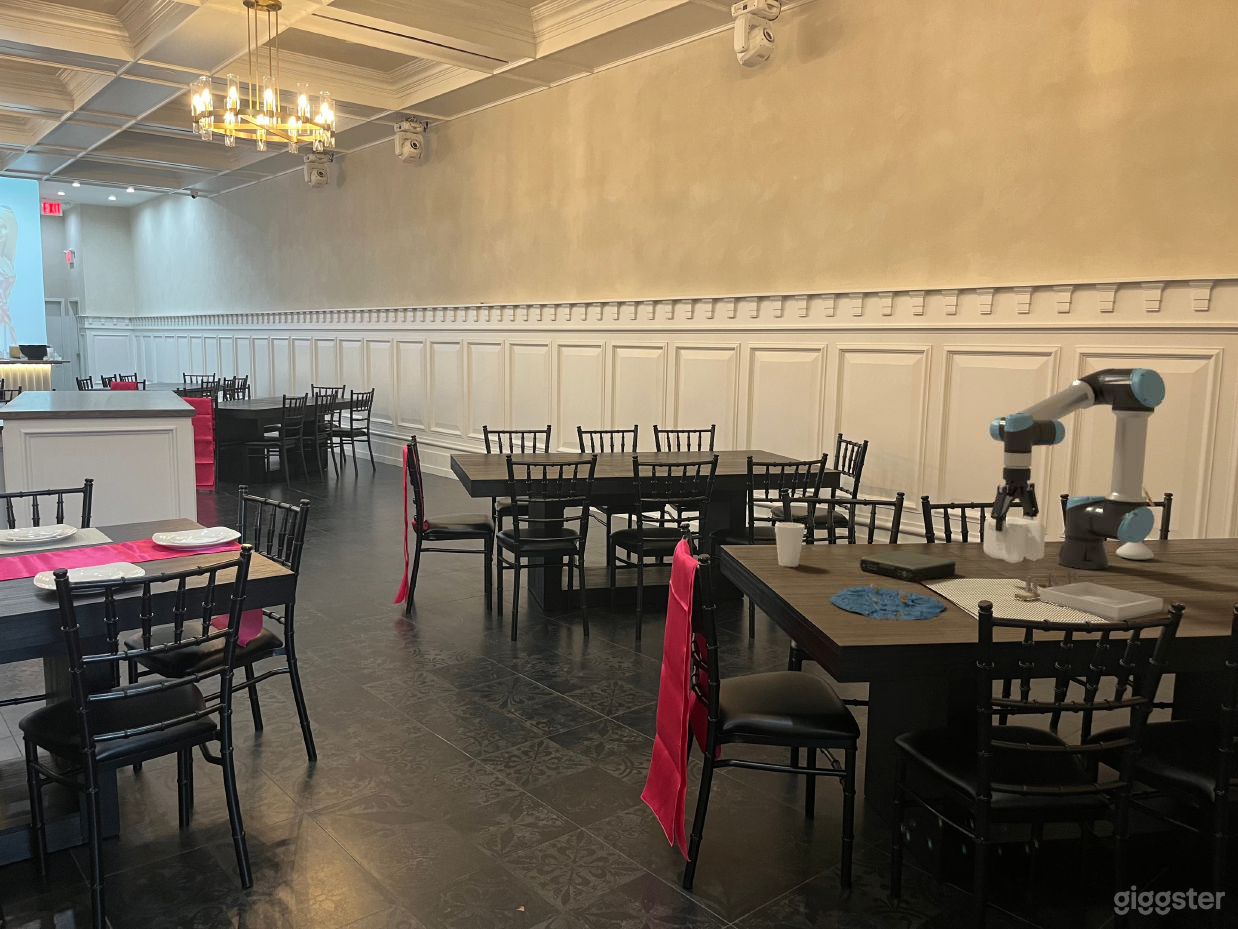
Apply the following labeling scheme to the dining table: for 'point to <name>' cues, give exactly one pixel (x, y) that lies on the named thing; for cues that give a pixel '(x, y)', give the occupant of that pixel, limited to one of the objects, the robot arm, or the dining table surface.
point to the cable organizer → (1015, 540)
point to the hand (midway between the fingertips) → (1013, 540)
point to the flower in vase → (1138, 548)
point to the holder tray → (1102, 600)
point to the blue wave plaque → (887, 603)
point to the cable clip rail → (1036, 593)
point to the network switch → (908, 565)
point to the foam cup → (789, 543)
